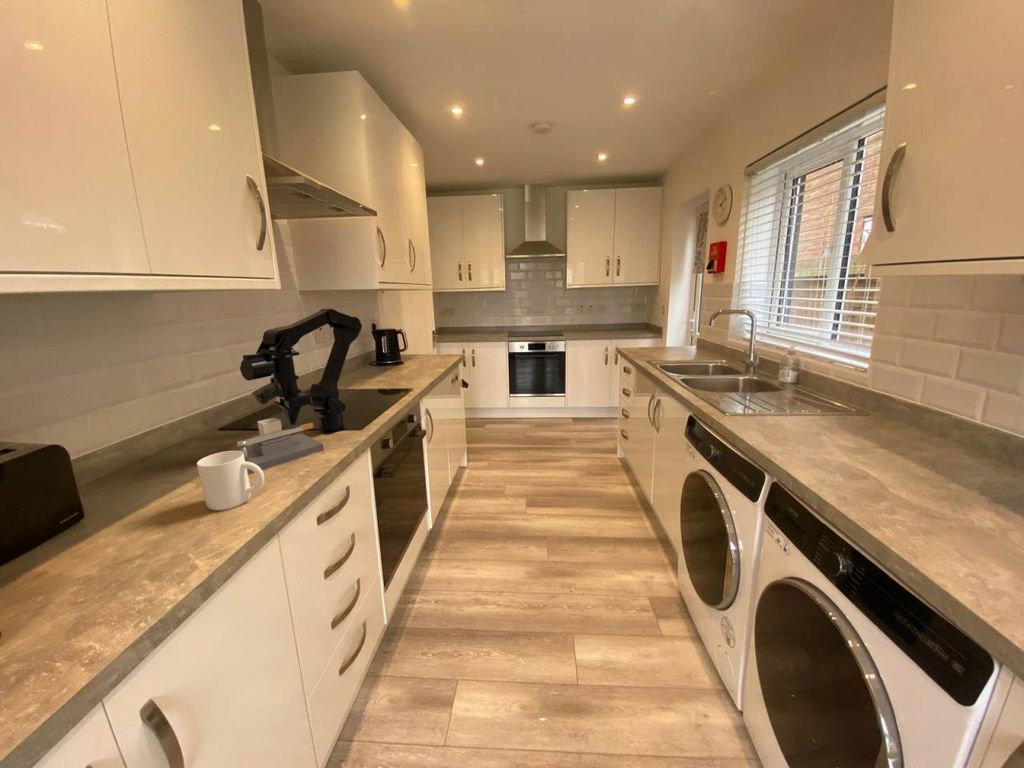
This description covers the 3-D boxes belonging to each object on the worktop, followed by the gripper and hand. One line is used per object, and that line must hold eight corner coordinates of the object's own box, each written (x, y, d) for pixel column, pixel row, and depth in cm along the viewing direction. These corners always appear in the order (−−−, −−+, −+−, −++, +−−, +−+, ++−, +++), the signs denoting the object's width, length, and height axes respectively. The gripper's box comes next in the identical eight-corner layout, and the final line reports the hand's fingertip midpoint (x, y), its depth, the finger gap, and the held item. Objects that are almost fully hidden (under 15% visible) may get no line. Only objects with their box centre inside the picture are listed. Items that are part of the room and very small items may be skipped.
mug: (276, 489, 94) (268, 448, 92) (258, 508, 86) (249, 463, 84) (220, 494, 93) (211, 452, 91) (197, 513, 85) (187, 467, 83)
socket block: (302, 439, 126) (299, 421, 125) (323, 450, 116) (321, 431, 115) (226, 460, 112) (222, 440, 110) (244, 475, 102) (240, 454, 101)
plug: (282, 441, 119) (277, 415, 117) (291, 447, 114) (286, 420, 113) (256, 449, 114) (251, 421, 112) (264, 454, 110) (259, 426, 108)
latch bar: (311, 426, 119) (310, 422, 119) (314, 427, 118) (313, 423, 118) (236, 446, 105) (235, 441, 105) (239, 448, 104) (238, 443, 104)
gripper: (241, 374, 117) (251, 425, 121) (265, 382, 105) (275, 439, 109) (282, 367, 125) (291, 416, 129) (308, 374, 113) (317, 427, 117)
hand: (292, 424), depth 121 cm, fingers closed
